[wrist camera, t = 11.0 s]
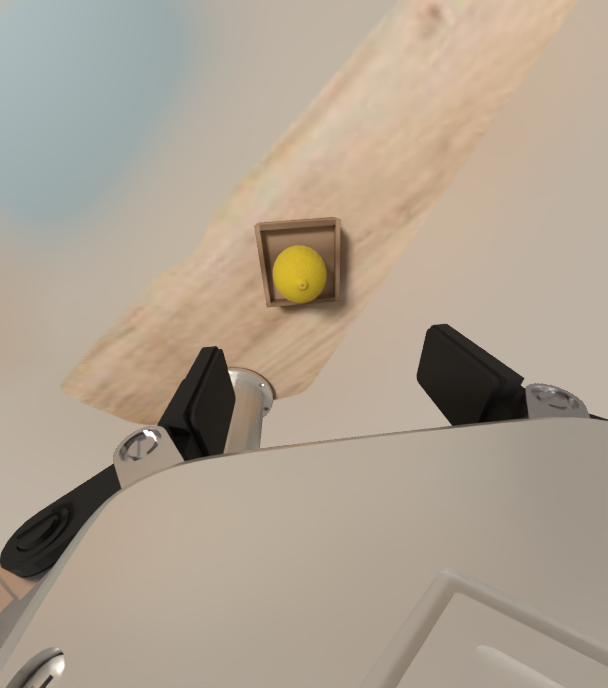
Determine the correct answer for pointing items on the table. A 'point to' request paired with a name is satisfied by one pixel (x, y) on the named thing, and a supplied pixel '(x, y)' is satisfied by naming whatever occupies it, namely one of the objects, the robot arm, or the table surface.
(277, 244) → the walnut tray
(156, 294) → the table surface
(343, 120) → the table surface
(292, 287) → the lemon
